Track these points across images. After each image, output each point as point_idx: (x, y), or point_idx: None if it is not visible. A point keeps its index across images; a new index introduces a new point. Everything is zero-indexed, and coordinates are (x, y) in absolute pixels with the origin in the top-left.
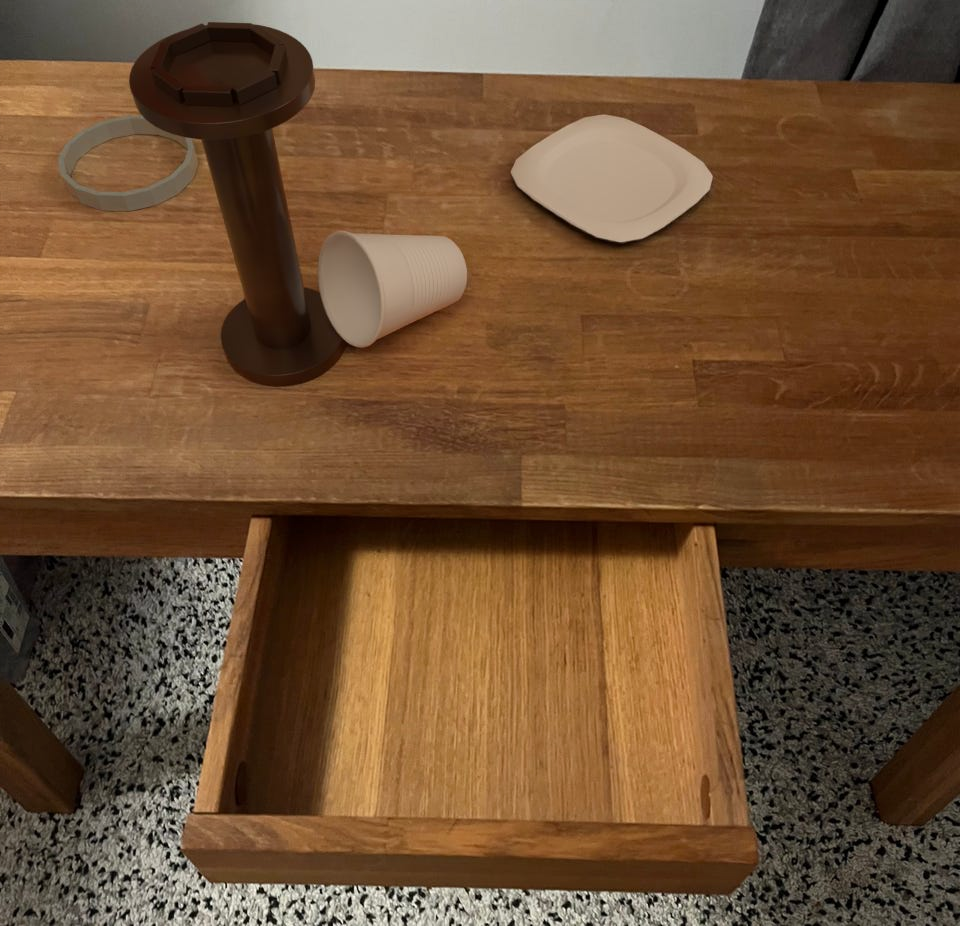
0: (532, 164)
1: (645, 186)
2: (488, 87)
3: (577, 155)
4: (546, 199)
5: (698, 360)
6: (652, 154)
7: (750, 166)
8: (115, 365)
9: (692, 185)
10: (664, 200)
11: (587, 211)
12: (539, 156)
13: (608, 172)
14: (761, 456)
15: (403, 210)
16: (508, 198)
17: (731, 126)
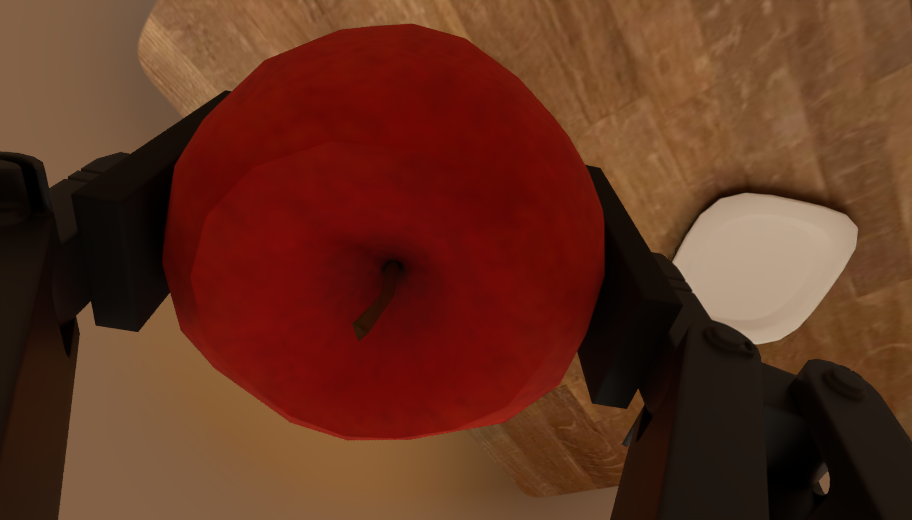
0: (739, 213)
1: (749, 298)
2: (905, 73)
3: (778, 232)
4: (688, 247)
5: (567, 387)
6: (802, 286)
7: (816, 346)
8: (280, 24)
9: (757, 334)
10: (733, 317)
11: (692, 275)
12: (755, 212)
13: (759, 266)
14: (510, 433)
15: (628, 125)
16: (690, 202)
17: (880, 315)
